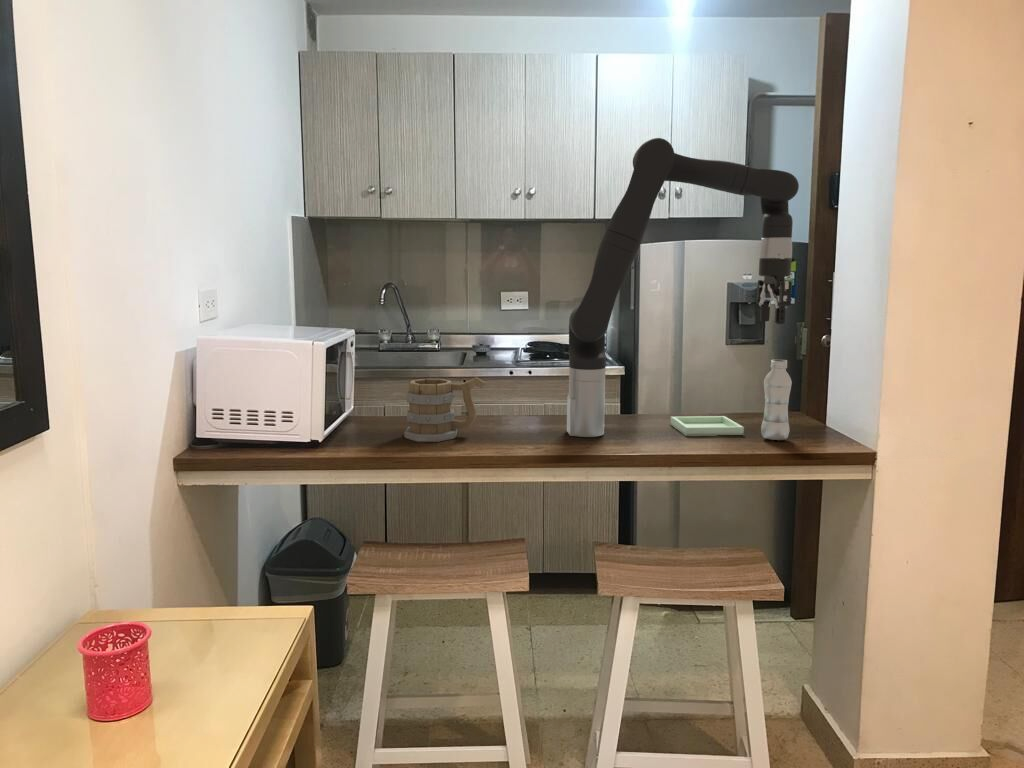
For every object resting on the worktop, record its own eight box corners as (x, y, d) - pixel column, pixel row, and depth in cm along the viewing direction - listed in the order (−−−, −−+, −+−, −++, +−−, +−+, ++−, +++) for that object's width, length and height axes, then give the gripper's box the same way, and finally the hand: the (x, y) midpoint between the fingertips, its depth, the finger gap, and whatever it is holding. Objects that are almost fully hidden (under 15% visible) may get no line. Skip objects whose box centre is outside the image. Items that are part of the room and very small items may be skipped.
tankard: (402, 441, 180) (401, 381, 177) (409, 430, 192) (408, 373, 190) (483, 442, 180) (483, 381, 177) (486, 431, 192) (486, 374, 190)
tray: (685, 436, 187) (686, 427, 187) (670, 424, 201) (670, 416, 201) (743, 435, 188) (743, 427, 188) (724, 423, 202) (724, 416, 202)
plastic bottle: (792, 443, 181) (798, 362, 177) (765, 442, 181) (770, 362, 177) (783, 436, 187) (788, 358, 184) (756, 436, 187) (761, 358, 184)
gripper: (748, 257, 188) (745, 320, 191) (773, 256, 174) (769, 325, 177) (777, 257, 189) (773, 320, 191) (804, 256, 175) (799, 324, 177)
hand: (771, 322), depth 184 cm, fingers open, 8 cm apart
